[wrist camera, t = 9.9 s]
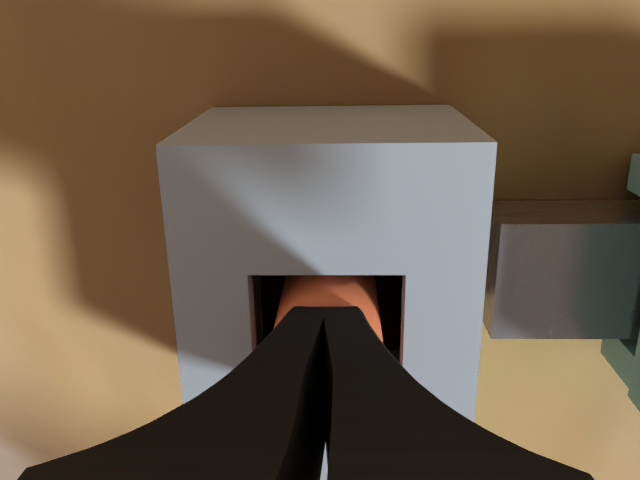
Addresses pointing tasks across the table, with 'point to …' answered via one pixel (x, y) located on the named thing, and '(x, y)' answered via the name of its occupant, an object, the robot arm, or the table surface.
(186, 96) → the table surface
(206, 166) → the end cabinet
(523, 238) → the rail
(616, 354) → the block
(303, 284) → the orange rounded knob
